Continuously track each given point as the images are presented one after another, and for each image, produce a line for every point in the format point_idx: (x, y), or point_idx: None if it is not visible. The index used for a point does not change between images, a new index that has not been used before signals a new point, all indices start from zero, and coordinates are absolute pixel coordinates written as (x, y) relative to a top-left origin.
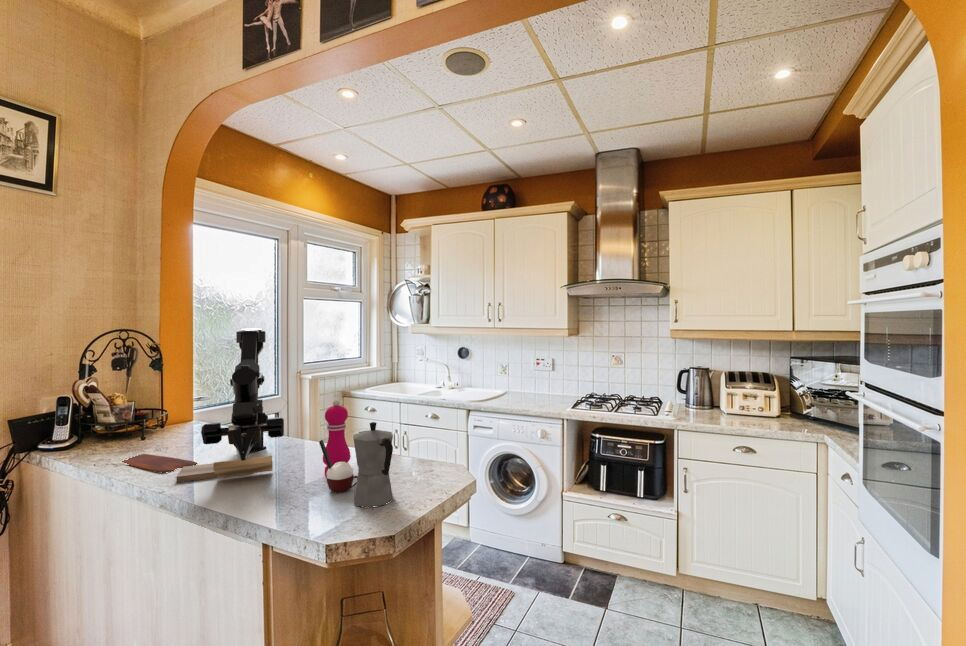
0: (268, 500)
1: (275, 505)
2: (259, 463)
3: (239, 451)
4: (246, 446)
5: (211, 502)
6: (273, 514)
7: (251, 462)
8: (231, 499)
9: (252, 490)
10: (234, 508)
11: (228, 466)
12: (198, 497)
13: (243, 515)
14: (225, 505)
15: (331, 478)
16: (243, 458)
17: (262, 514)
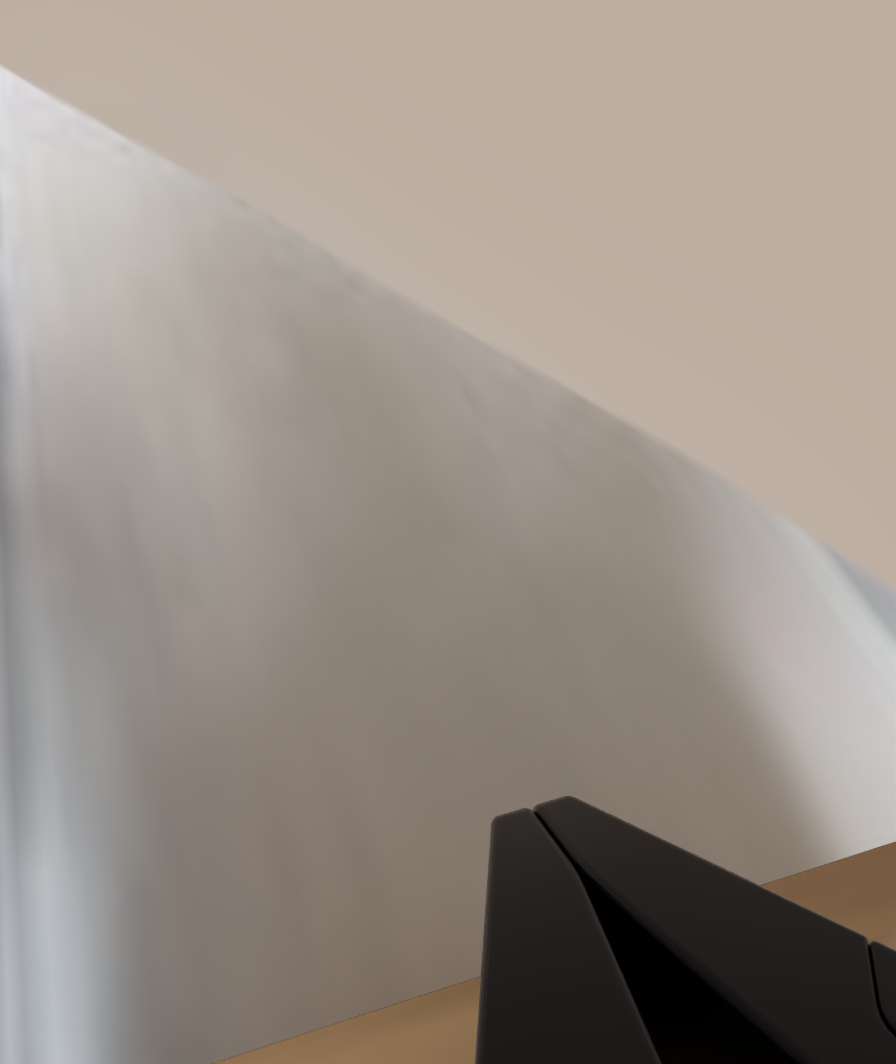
0: (82, 467)
1: (6, 353)
2: (222, 1060)
3: (694, 857)
4: (560, 1003)
5: (645, 516)
6: (13, 213)
7: (394, 1035)
8: (474, 556)
9: (325, 798)
10: (360, 356)
11: (806, 877)
12: (878, 675)
13: (243, 234)
14: (469, 427)
15: None
16: (519, 810)
17: (98, 226)
